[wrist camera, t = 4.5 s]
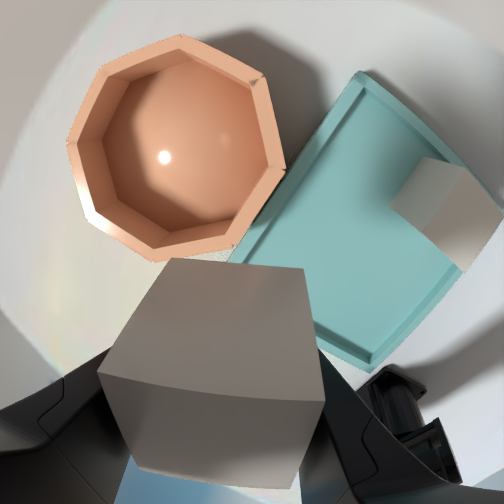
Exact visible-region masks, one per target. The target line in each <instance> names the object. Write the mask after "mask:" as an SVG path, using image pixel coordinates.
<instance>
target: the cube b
mask: <svg viewBox="0 0 504 504" xmlns="http://www.w3.org/2000/svg"><path fill="white" fill-rule="evenodd" d="M97 374H98V376H99V379H100V382H101V385H102V387H103V390H104V393H105V395H106V398H107V400H108V403H109V405H110V408H111V410H112V413H113V415H114V417H115V420H116V422H117V424H118V427H119V429H120V431H121V433H122V436H123V438H124V440H125V442H126V444H127V446H128V448H129V450H130V452H131V454H132V456H133V458H134V460H135V462H136V464H137V466H138V468H139V469H141V470H145V471H149V472H153V473H158V474H162V475H166V476H171V477H177V478H181V479H187V480H192V481H198V482H205V483H212V484H220V485H228V486H238V487H249V488H266V489H290V487H291V485H292V483H293V481H294V478H295V476H296V474H297V472H298V469H299V467H300V465H301V462H302V460H303V458H304V455H305V453H306V450H307V448H308V446H309V443H310V441H311V438H312V436H313V433H314V430H315V428H316V425H317V423H318V420H319V417H320V415H321V412H322V409H323V406H324V404H325V394H324V387H323V380H322V373H321V367H320V360H319V354H318V348H317V341H316V335H315V329H314V323H313V318H312V312H311V306H310V300H309V295H308V289H307V284H306V279H305V273H304V268H292V267H279V266H267V265H254V264H242V263H230V262H219V261H207V260H196V259H184V258H173V257H171V259H170V260H169V262H168V263H167V264H166V266H165V267H164V269H163V270H162V272H161V273H160V274H159V276H158V277H157V279H156V280H155V282H154V283H153V285H152V286H151V288H150V289H149V291H148V292H147V294H146V295H145V297H144V298H143V299H142V301H141V302H140V304H139V306H138V307H137V309H136V310H135V312H134V313H133V315H132V316H131V318H130V319H129V321H128V322H127V324H126V325H125V327H124V328H123V330H122V332H121V333H120V335H119V336H118V338H117V339H116V341H115V343H114V344H113V346H112V347H111V349H110V351H109V352H108V354H107V355H106V357H105V359H104V360H103V362H102V363H101V365H100V367H99V368H98V370H97Z"/></svg>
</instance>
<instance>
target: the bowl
mask: <svg viewBox="0 0 504 504" xmlns="http://www.w3.org/2000/svg"><path fill="white" fill-rule="evenodd" d="M66 142H68V144H66V147H67V152H68V156H69V160H70V164H71V167H72V171H73V175H74V178H75V182H76V186H77V189H78V192H79V196H80V199H81V202H82V205H83V209H84V212H85V215H86V218H89V222H91V223H92V224H94V225H95V226H97V227H98V228H100V229H101V230H103V231H104V232H106V233H107V234H109V235H110V236H112V237H113V238H115V239H116V240H118V241H119V242H121V243H122V244H124V245H125V246H127V247H128V248H130V249H131V250H133V251H135V252H136V253H138V254H139V255H141V256H142V257H144V258H145V259H147V260H149V261H150V262H152V261H153V260H154V263H157V262H162V261H167V260H170V259H171V257H173V258H183V257H188V256H194V255H199V254H204V253H210V252H215V251H221V250H226V249H231V248H233V246H236V245H237V244H238V242H239V241H240V239H241V238H242V236H243V235H244V233H245V232H246V230H247V229H248V227H249V226H250V224H251V223H252V221H253V220H254V218H255V217H256V215H257V214H258V212H259V211H260V209H261V208H262V206H263V205H264V203H265V202H266V200H267V199H268V197H269V196H270V194H271V193H272V191H273V190H274V188H275V187H276V185H277V184H278V182H279V181H280V180H281V178H282V177H283V175H284V174H285V168H286V165H285V160H284V155H283V151H282V146H281V141H280V137H279V132H278V128H277V123H276V119H275V115H274V110H273V106H272V102H271V98H270V94H269V89H268V85H267V81H266V77H264V76H263V74H262V73H261V72H259V71H257V70H255V69H253V68H252V67H250V66H248V65H246V64H244V63H242V62H241V61H239V60H237V59H235V58H233V57H231V56H229V55H227V54H225V53H223V52H221V51H219V50H217V49H215V48H213V47H211V46H209V45H207V44H205V43H202V42H200V41H198V40H196V39H194V38H191V37H189V36H187V35H185V34H183V36H182V35H181V34H179V35H176V36H173V37H170V38H167V39H164V40H161V41H159V42H156V43H153V44H151V45H148V46H146V47H143V48H141V49H138V50H136V51H134V52H131V53H129V54H127V55H124V56H122V57H120V58H118V59H115V60H113V61H111V62H109V63H107V64H105V65H103V66H102V69H100V68H99V70H98V72H97V74H96V76H95V78H94V80H93V82H92V84H91V86H90V88H89V90H88V92H87V94H86V96H85V98H84V100H83V103H82V105H81V107H80V109H79V111H78V114H77V116H76V118H75V121H74V123H73V125H72V128H71V130H70V133H69V135H68V138H67V140H66Z"/></svg>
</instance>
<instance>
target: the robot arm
mask: <svg viewBox="0 0 504 504" xmlns="http://www.w3.org/2000/svg"><path fill="white" fill-rule="evenodd" d="M317 348H318V347H317ZM110 349H111V347H110V348H108V349H107V350H105V351H104V352H102V353H100V354H99V355H97V356H96V357H94V358H92V359H91V360H89V361H88V362H86V363H84V364H83V365H81V366H80V367H78V368H76V369H75V370H73V371H71V372H70V373H68V374H67V375H65V376H64V378H63V377H62V378H60V379H58V380H57V381H55V382H54V383H52V384H50V385H48V386H47V387H45V388H43V389H42V390H40V391H38V392H36V393H34V394H32V395H30V396H28V397H26V398H24V399H22V400H20V401H18V402H16V403H14V404H12V405H9V406H7V407H5V408H3V409H1V410H0V504H113V503H114V501H115V498H116V495H117V492H118V489H119V486H120V483H121V480H122V478H123V475H124V472H125V469H126V466H127V463H128V460H129V458H130V455H131V452H130V450H129V448H128V446H127V444H126V442H125V440H124V438H123V436H122V433H121V431H120V429H119V427H118V424H117V422H116V420H115V417H114V415H113V413H112V410H111V408H110V405H109V403H108V400H107V398H106V395H105V393H104V390H103V387H102V385H101V382H100V379H99V376H98V374H97V370H98V368H99V367H100V365H101V363H102V362H103V360H104V359H105V357H106V355H107V354H108V352H109V351H110ZM318 354H319V360H320V367H321V373H322V380H323V387H324V394H325V404H324V406H323V409H322V412H321V415H320V417H319V420H318V423H317V425H316V428H315V430H314V433H313V436H312V438H311V441H310V443H309V446H308V448H307V450H306V453H305V455H304V458H303V460H302V462H301V465H300V467H299V478H300V488H301V498H302V504H504V491H498V490H490V489H482V488H476V487H469V486H463V485H459V484H461V483H463V481H462V478H461V474H460V471H459V468H458V465H457V462H456V459H455V456H454V453H453V450H452V448H451V445H450V443H449V440H448V438H447V435H446V433H445V431H444V428H443V426H442V424H441V422H440V419H439V417H438V418H436V419H434V420H433V422H431V423H429V424H427V425H425V423H424V420H423V417H422V415H421V412H420V409H419V407H418V404H417V402H416V401H417V400H419V399H420V398H421V397H422V396H423V395H424V394H425V393H426V392H427V390H426V387H425V386H423V385H421V384H419V383H417V382H415V381H413V380H411V379H409V378H407V377H406V376H404V375H402V374H400V373H398V372H396V371H394V370H392V369H390V368H388V367H387V368H383V369H382V370H381V371H380V372H378V373H377V374H376V375H375V376H374V377H373V378H372V379H371V380H370V381H368V382H367V383H366V384H365V385H364V386H363V387H362V388H360V389H359V390H358V391H357V392H355V391H354V390H353V389H352V388H351V386H350V385H349V384H348V383H347V382H346V380H345V379H344V378H343V377H342V376H341V374H340V373H339V372H338V371H337V370H336V368H335V367H334V366H333V365H332V364H331V363H330V361H329V360H328V359H327V358H326V357H325V355H324V354H323V353H322V352H321V351H320V349H319V348H318ZM385 373H386V374H385Z"/></svg>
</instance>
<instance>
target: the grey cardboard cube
mask: <svg viewBox="0 0 504 504" xmlns="http://www.w3.org/2000/svg"><path fill="white" fill-rule="evenodd" d="M389 207H390V208H391V209H392V210H393V211H395V212H396V213H397V214H398V215H399V216H401V217H402V218H403V219H404V220H405V221H406V222H408V223H409V224H410V225H411V226H412V227H413V228H415V229H416V230H417V231H418V232H419V233H420V234H421V235H422V236H424V237H425V238H426V239H427V240H428V241H429V242H430V243H432V244H433V245H434V246H435V247H436V248H437V249H438V250H440V251H441V252H442V253H443V254H444V255H445V256H446V257H447V258H449V259H450V260H451V261H452V262H453V263H454V264H455V265H456V266H457V267H458V268H459V269H460V270H462V271H463V272H464V273H465V272H466V271H467V270H468V268H469V267H470V266H471V264H472V263H473V262H474V260H475V259H476V258H477V256H478V255H479V253H480V252H481V251H482V249H483V248H484V246H485V245H486V244H487V242H488V241H489V239H490V238H491V236H492V235H493V233H494V232H495V230H496V229H497V227H498V226H499V224H500V223H501V221H502V220H503V218H504V214H503V213H502V212H501V210H500V209H499V208H498V206H497V205H496V204H495V202H494V201H493V200H492V199H491V197H490V196H489V195H488V194H487V192H486V191H485V190H484V189H483V188H482V186H481V185H480V184H479V183H478V182H477V180H476V179H475V178H474V177H473V176H472V175H471V173H470V172H469V171H468V170H467V169H466V168H465V167H461V166H458V165H454V164H451V163H447V162H443V161H440V160H436V159H432V158H428V157H424V156H423V157H422V159H421V160H420V162H419V163H418V165H417V166H416V168H415V169H414V171H413V172H412V174H411V175H410V176H409V178H408V179H407V181H406V182H405V184H404V185H403V187H402V188H401V189H400V191H399V192H398V194H397V195H396V196H395V198H394V199H393V201H392V202H391V203H390V205H389Z"/></svg>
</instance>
